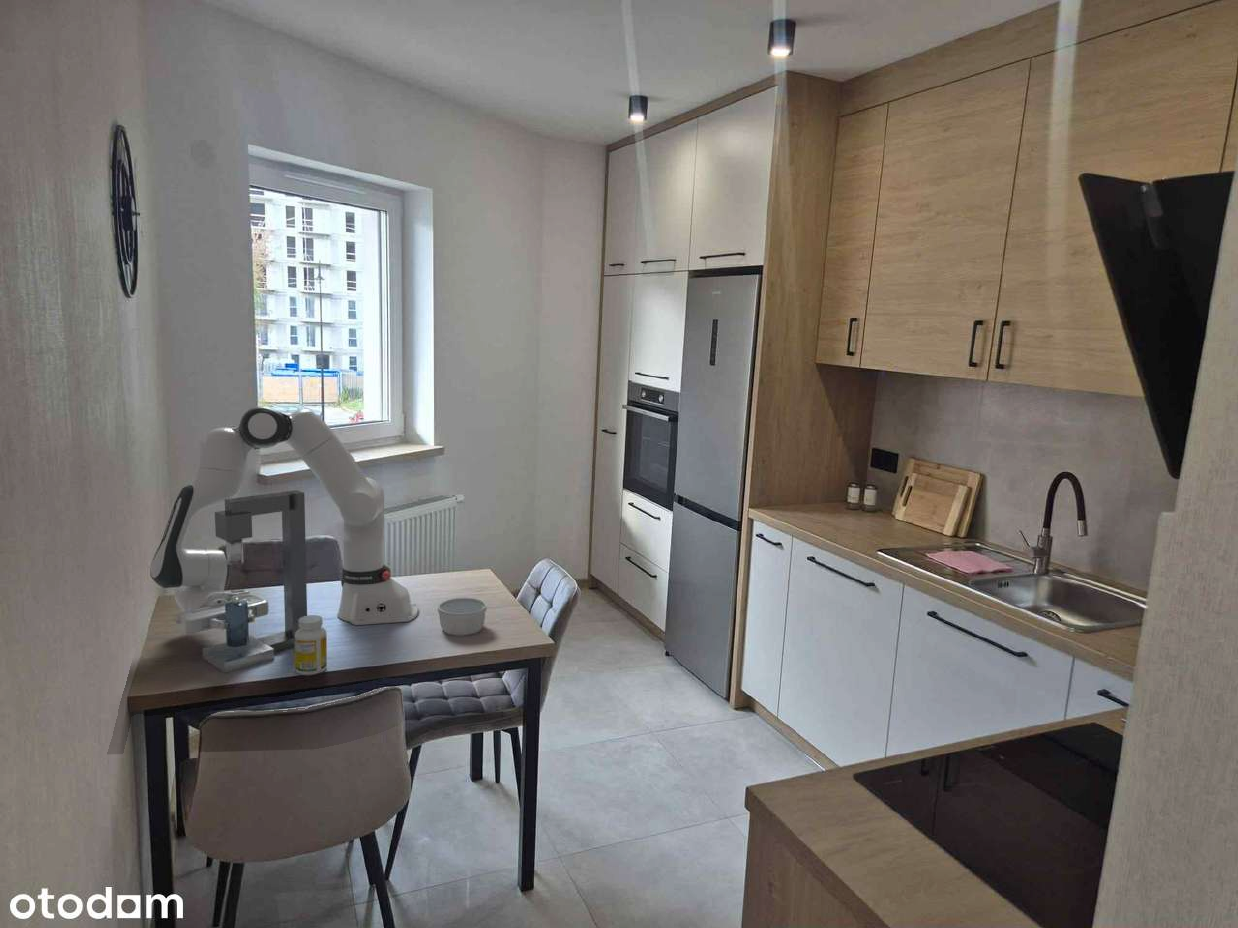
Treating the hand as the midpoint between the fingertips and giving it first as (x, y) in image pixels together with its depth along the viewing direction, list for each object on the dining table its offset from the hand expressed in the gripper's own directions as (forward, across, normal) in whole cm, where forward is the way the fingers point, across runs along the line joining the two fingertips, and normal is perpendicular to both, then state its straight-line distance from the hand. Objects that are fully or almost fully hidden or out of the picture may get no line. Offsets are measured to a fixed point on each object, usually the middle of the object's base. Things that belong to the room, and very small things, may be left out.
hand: (238, 622), depth 191 cm
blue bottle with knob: (-1, 0, +6) cm, 6 cm away
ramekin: (+21, +52, +10) cm, 57 cm away
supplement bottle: (+17, +9, +10) cm, 22 cm away
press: (-1, +5, +10) cm, 11 cm away
